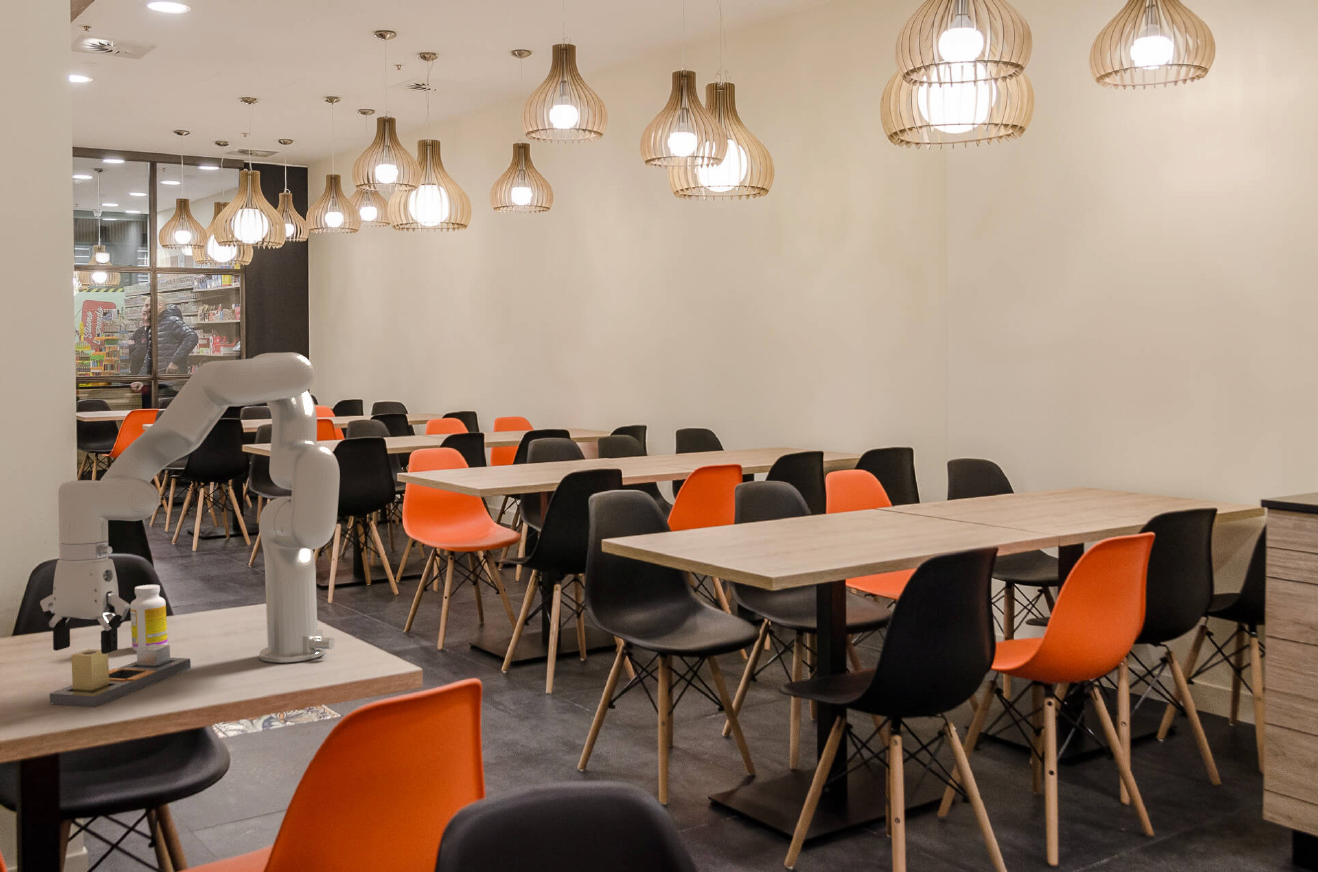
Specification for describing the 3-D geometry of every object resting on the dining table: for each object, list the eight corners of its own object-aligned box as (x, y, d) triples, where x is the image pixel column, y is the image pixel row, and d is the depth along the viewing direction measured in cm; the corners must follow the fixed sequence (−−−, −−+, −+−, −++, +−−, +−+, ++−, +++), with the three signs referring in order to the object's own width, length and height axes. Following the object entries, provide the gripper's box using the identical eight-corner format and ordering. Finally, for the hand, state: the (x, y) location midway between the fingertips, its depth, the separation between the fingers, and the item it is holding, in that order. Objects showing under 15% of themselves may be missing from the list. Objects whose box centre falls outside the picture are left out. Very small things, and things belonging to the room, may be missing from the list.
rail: (190, 667, 209) (190, 657, 209) (94, 706, 185) (94, 694, 185) (150, 665, 211) (149, 655, 211) (50, 703, 187) (49, 692, 187)
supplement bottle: (174, 644, 228) (171, 583, 227) (156, 652, 221) (153, 589, 221) (143, 644, 229) (141, 583, 228) (125, 652, 222) (122, 589, 221)
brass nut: (109, 695, 192) (107, 649, 191) (93, 701, 188) (91, 655, 187) (90, 693, 192) (88, 648, 192) (73, 700, 189) (71, 654, 188)
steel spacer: (170, 671, 207) (169, 645, 207) (156, 676, 203) (155, 650, 203) (152, 669, 208) (151, 644, 208) (137, 675, 204) (136, 649, 204)
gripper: (142, 550, 190) (143, 648, 191) (58, 547, 194) (59, 642, 195) (111, 557, 183) (112, 658, 183) (24, 553, 187) (26, 652, 187)
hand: (85, 650), depth 189 cm, fingers open, 9 cm apart
